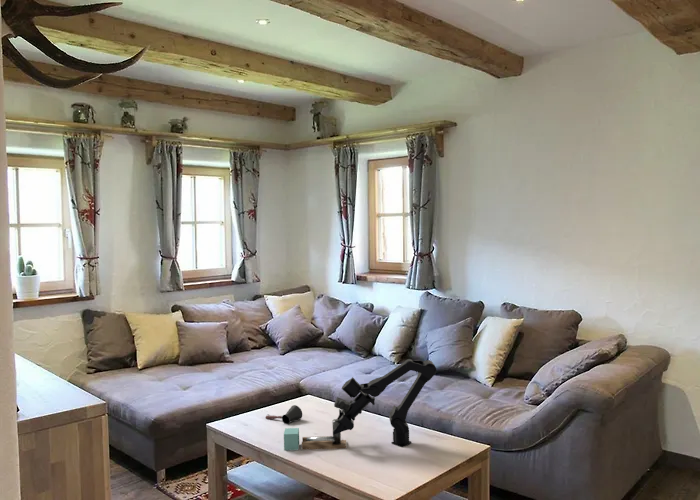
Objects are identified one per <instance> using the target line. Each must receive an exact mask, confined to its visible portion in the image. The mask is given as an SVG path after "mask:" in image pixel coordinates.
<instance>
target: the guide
mask: <svg viewBox="0 0 700 500" xmlns="http://www.w3.org/2000/svg"><path fill="white" fill-rule="evenodd" d="M307 437H308V436H302V441H301V451H305V450H332V449H333V450H334V449H335V450H336V449H337V450H339V449H347V440H346V439H341V443H340V444H333V443H332V441H307ZM321 437H329V436H326V435H325V436H324V435H323V436H321Z"/></svg>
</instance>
